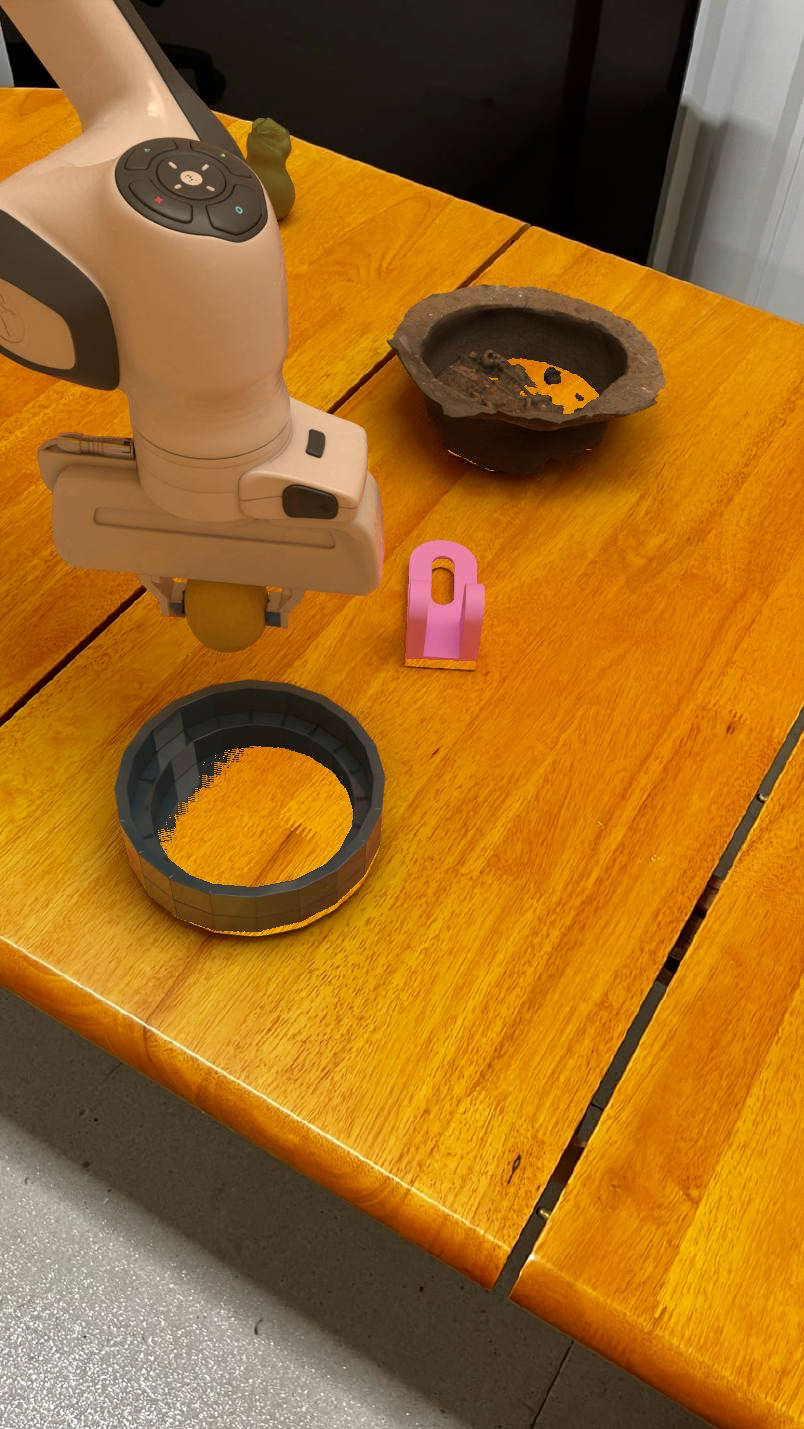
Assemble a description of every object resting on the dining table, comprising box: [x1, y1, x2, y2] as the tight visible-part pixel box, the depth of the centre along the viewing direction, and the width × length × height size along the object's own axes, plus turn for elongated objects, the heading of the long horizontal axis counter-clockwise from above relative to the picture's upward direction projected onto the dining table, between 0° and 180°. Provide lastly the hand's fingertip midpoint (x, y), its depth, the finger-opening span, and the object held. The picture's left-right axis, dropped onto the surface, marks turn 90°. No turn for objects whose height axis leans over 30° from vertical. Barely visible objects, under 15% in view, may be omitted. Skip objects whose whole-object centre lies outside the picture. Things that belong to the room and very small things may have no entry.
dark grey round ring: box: [113, 679, 386, 932], centre depth 83 cm, size 18×18×6 cm
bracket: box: [404, 539, 486, 662], centre depth 97 cm, size 13×6×7 cm, turn 179°
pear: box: [245, 117, 296, 221], centre depth 126 cm, size 6×5×10 cm
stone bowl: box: [385, 283, 666, 476], centre depth 111 cm, size 25×25×9 cm
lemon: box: [184, 579, 269, 654], centre depth 80 cm, size 6×6×8 cm
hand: (228, 615), depth 81 cm, fingers closed on lemon, 5 cm apart
